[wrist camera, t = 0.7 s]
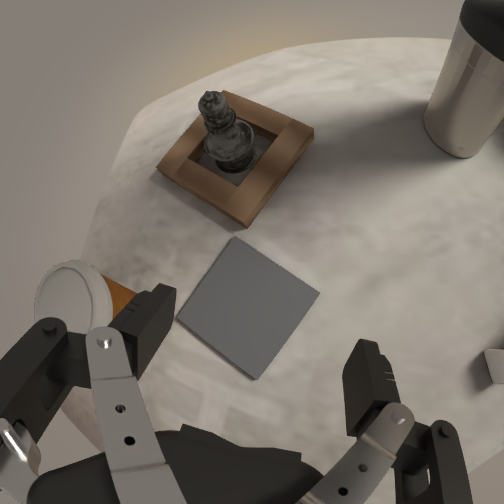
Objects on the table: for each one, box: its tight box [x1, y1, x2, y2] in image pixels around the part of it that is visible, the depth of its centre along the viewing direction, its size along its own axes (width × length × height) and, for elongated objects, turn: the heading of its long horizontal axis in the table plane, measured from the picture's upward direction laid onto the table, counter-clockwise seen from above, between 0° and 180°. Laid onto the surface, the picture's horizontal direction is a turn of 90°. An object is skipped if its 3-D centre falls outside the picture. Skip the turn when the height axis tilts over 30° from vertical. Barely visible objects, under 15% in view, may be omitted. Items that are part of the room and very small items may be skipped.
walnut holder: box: [156, 90, 314, 229], centre depth 36 cm, size 14×14×2 cm
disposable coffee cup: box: [34, 260, 137, 334], centre depth 29 cm, size 10×10×12 cm
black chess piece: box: [198, 91, 257, 173], centre depth 32 cm, size 6×6×12 cm
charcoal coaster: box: [177, 236, 320, 380], centre depth 32 cm, size 11×11×1 cm
